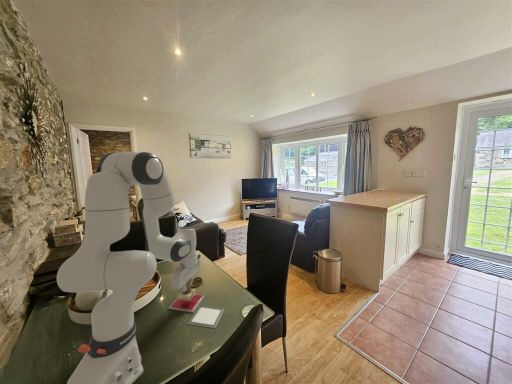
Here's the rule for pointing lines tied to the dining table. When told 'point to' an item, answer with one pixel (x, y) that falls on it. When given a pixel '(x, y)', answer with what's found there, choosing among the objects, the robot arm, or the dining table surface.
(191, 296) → the stamp
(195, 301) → the ink pad
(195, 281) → the seal
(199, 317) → the sheet
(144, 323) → the dining table surface
